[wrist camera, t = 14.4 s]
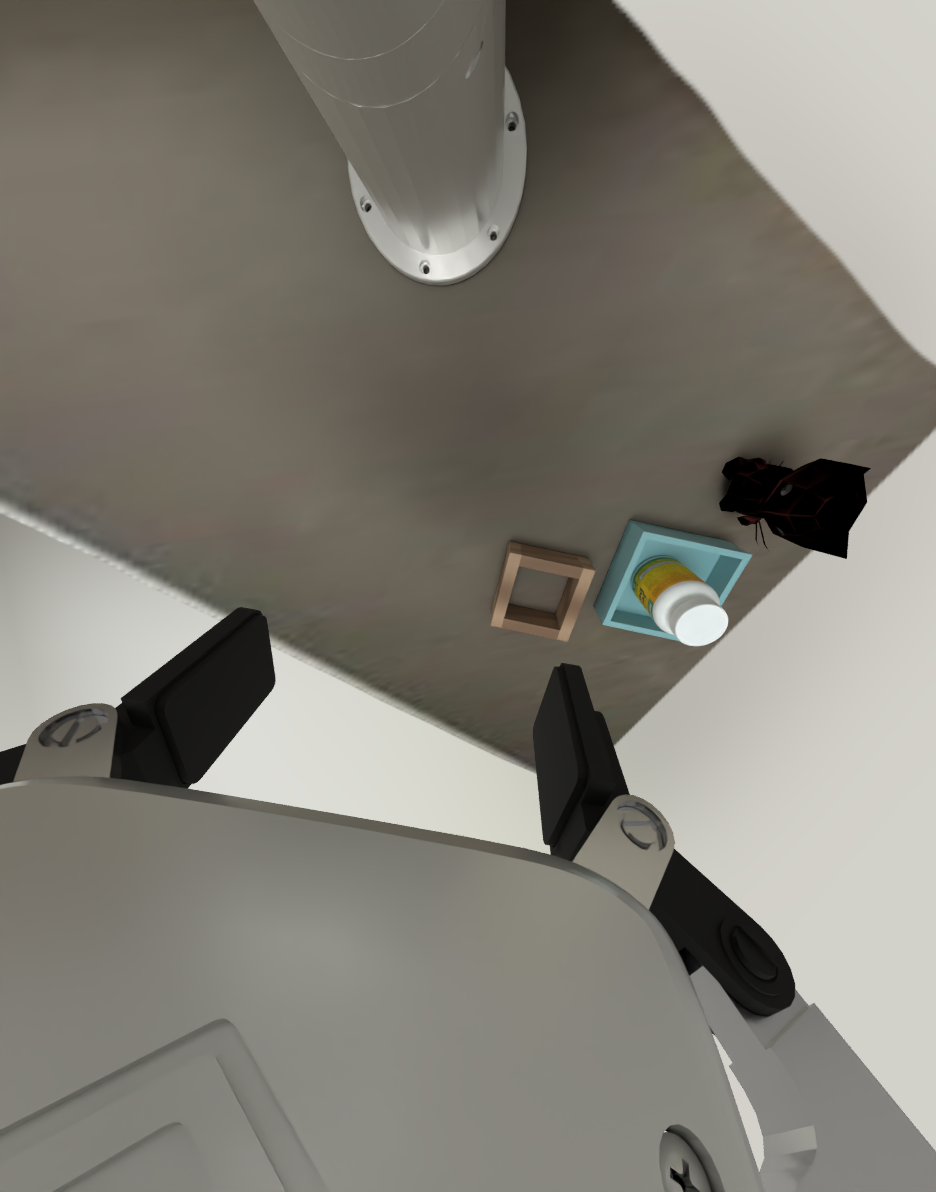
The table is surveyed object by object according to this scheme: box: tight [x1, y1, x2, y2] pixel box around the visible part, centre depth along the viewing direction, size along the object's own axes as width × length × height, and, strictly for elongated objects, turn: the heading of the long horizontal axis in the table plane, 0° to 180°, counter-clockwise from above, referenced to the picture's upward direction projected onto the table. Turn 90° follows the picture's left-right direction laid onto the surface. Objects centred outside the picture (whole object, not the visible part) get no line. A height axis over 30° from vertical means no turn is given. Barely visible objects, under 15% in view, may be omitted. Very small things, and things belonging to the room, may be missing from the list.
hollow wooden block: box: [491, 541, 595, 642], centre depth 38 cm, size 9×9×4 cm
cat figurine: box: [719, 457, 871, 559], centre depth 28 cm, size 7×7×12 cm
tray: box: [594, 520, 752, 641], centre depth 36 cm, size 10×10×4 cm
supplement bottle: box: [631, 556, 728, 646], centre depth 33 cm, size 5×5×10 cm
